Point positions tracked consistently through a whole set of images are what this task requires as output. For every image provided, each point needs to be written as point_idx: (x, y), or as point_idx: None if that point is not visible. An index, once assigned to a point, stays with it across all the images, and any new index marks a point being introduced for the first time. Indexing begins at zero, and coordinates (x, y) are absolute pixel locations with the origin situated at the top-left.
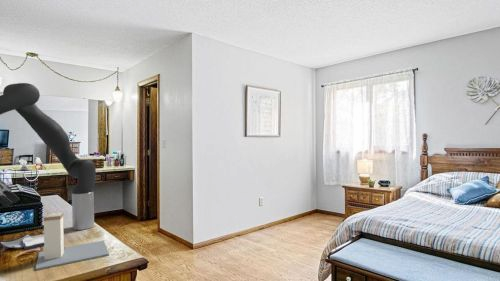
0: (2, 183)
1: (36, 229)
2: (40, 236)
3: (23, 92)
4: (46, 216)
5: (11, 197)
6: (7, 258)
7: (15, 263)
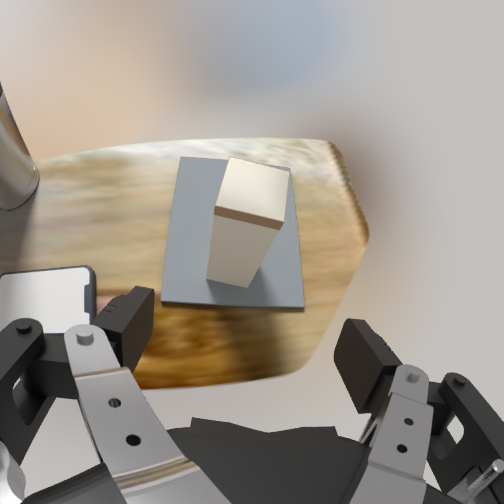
0: (99, 435)
1: None
2: (17, 287)
3: None
4: (265, 210)
5: (138, 340)
6: (147, 382)
7: (212, 360)
